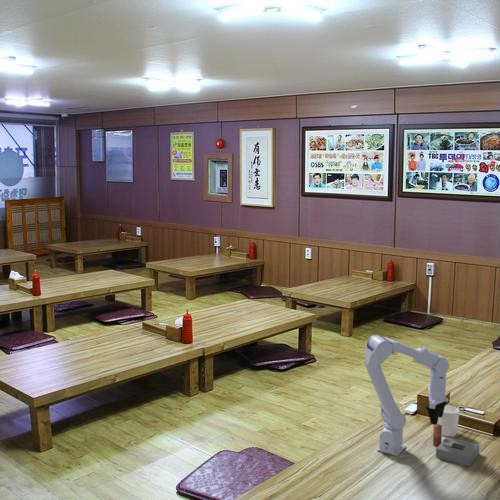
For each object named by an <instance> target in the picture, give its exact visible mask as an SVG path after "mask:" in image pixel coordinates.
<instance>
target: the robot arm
mask: <svg viewBox="0 0 500 500" xmlns="http://www.w3.org/2000/svg"><path fill="white" fill-rule="evenodd" d="M396 353H399V354H402V355H405V356H407V357H410V358H411V357H412V359H413V361H414V362H415V363H417V364H419V365H421V366H425V367H427V368H430V369H429V370H430V372H429V396H428V400H429V404H426V405H425V410H426V411H427V413H428V415H429V416H428V417H429V422H430V425H434V424H435V425H436V424H438V423H439V417H441V418H442V416H443V412H444V408H445V406H447V405H446V404H447V403H448V401H449V397H448V398H447V397H446V384H447V372H448V370H449V369H450V366H451V365H450V363H449V361H448V359H447V358H445V357H443V356H442V355H440V354H439V353H437V352H436V351H434V352H432V351H430V350H428V348H426V347H424V346H423V347H417V348H414V347H411V346H409V345H406V344H405V343H402V342H399V341H397V340H395V339H393V338H389V337H387V336H381V335H380V334H373V335H371V336H370V337H368V339H367V341H366V343H365V358H364V365H365V368H366V370H367V373H368V376H369V378H370V380H371V382H372V386H373V388H374V390H375V392H376V396H377V397H378V401H379V402H380V405H379V407H380V415H381V418H382V419H383V427H382V428H383V429H382V431H381V432H380V434H379V447H378V448H377V449H376V451H378V452H381V453H383V454H388V455H392V456H395V457H397V456H399V455H400V454H401V453H402V452H403V451H404V450H405V449H406V448H407V445H406V444H403V437H404V436H403V435H404V434H403V431H404V427H405V426H406V424H407V418H406V416H405V415H404V414H403V413H402V411H401V409H400V407H399V406H398V405H397V404H396V401H395V400H394V396H393V393H392V392H391V389H390V387H389V384H388V382H387V378H386V377H385V374H384V371H383V369H382V364H383V363H384V362H385V361H386V360H387V359H388V358H389V357H390V356H391V355H395V354H396Z"/></svg>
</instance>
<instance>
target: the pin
mask: <svg viewBox="0 0 500 500" xmlns="http://www.w3.org/2000/svg"><path fill="white" fill-rule="evenodd" d="M432 434H433V435H432V437H433V438H432V445H433V447H435V448H437V447H438V446H439V445H440V444H441V443H442V436H443V435H442V425H440V424H439V423H437V424H436V425H435V424H433V432H432Z"/></svg>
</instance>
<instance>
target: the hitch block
mask: <svg viewBox="0 0 500 500" xmlns="http://www.w3.org/2000/svg"><path fill="white" fill-rule="evenodd" d="M435 449H436V450H435V458H437V459H440V460H444V461H446V462H447V461H448V462H450V463H454V464H459V465H462V466H465V467H471V465H472V464H473V462H474V461H475V460H476V458H477V457H478V456H479V454H480V444H479V443H478V444H477V443H474V442H470V441H465V440H462V439H457V438H454V437H448V436H445V438H444V439H443V440H442V441H441V444H440V445H439V446H438V447H435Z"/></svg>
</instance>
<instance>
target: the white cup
mask: <svg viewBox="0 0 500 500" xmlns="http://www.w3.org/2000/svg"><path fill="white" fill-rule="evenodd" d="M459 419H460V409H459V408H457V407H455V406H453V405H445V408H444V412H443V416H442V418H441V417H438V424H440V425H442V436H444V437H450V438H454V437H456V436H457V434H458V428H459Z"/></svg>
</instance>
